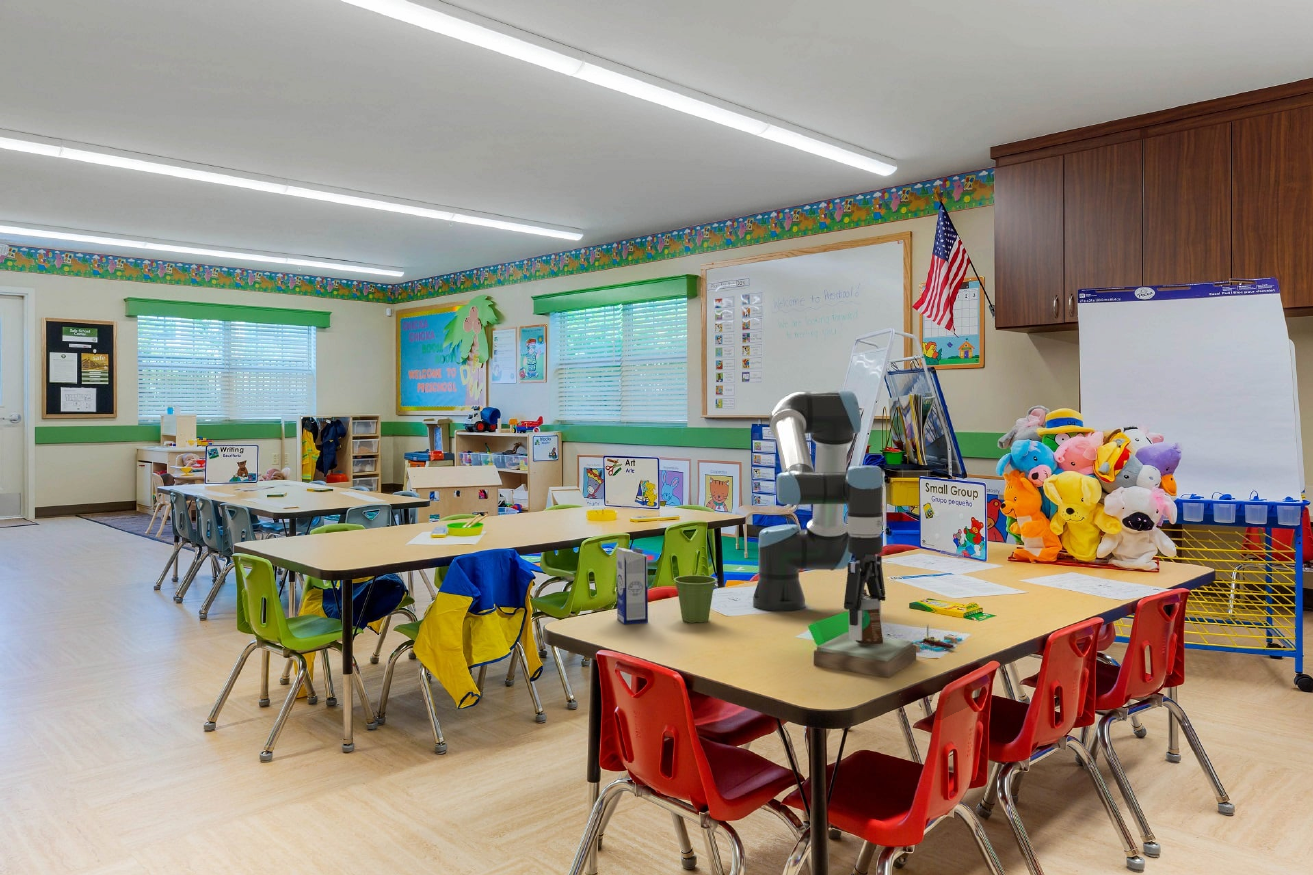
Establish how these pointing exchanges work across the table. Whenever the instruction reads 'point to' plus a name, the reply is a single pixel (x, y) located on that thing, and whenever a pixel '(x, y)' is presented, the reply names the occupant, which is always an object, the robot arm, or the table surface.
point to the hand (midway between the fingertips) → (865, 634)
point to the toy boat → (936, 642)
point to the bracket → (829, 628)
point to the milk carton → (632, 586)
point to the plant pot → (695, 597)
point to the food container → (870, 621)
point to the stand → (865, 656)
